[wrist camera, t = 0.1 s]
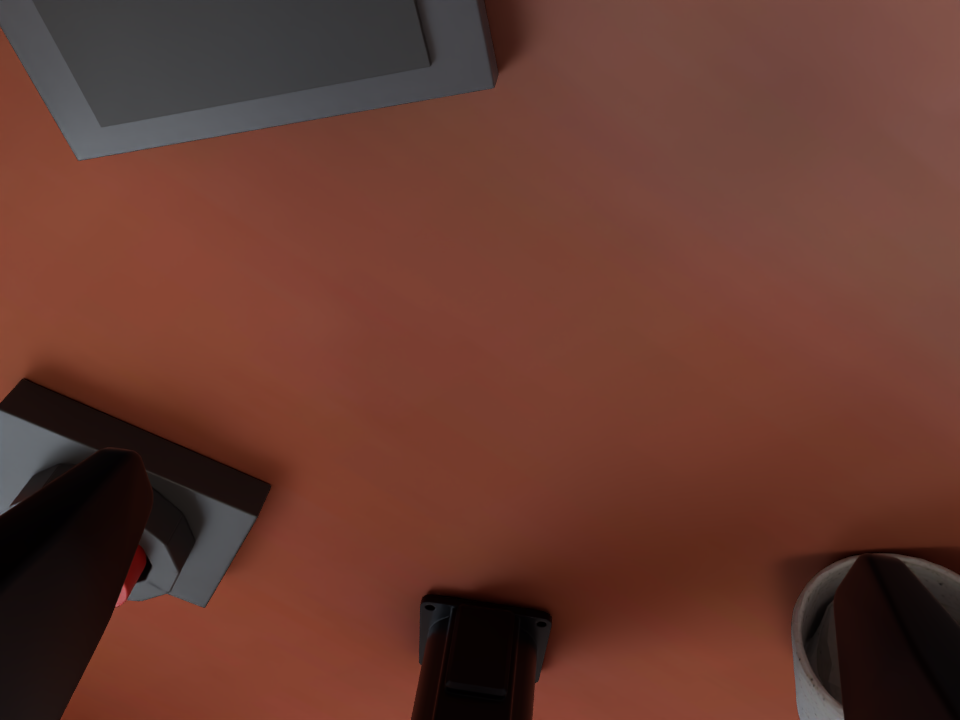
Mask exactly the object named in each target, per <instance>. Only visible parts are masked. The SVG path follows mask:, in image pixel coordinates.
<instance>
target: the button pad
mask: <svg viewBox="0 0 960 720" xmlns="http://www.w3.org/2000/svg"><path fill="white" fill-rule="evenodd" d="M107 447H112V448H120V449H127V450H133V451H136V452H137V453H138V454H139V455H140V456H141V458H142V461H143V464H144V467H145V470H146V472H147V475H148V478H149V481H150V484H151V487H152V490H153V505H152V509H151V512H150V515H149V518H148V520H147V523H146V526H145V528H144V531H143V534H142V537H141V539H140V542H139V545H140V546H141V547H142V548H143V549H144V551H145V554H146V566H145V568H144V570H143V571H142V573H141V575H140V577H139V579H138V580H137V582H136V584H135V586H134V588H133V589H132V591H131V593H130V595H129V597H128V598H127V600H132V601H144V600H147V599H150V598H154V597H157V596H160V595H164V594H169V595H172V596H174V597H177V598H180V599H182V600H185V601H188V602H190V603H193V604H195V605H198V606H201V607H203V608H205V607H206V606H207V604H208V602H209V600H210V599H211V597H212V595H213V594H214V592H215V590H216V588H217V587H218V585H219V583H220V581H221V580H222V578H223V576H224V575H225V573H226V571H227V569H228V568H229V566H230V564H231V562H232V561H233V559H234V557H235V556H236V554H237V552H238V550H239V549H240V547H241V545H242V543H243V542H244V540H245V538H246V537H247V535H248V533H249V531H250V530H251V528H252V526H253V524H254V523H255V521H256V519H257V518H258V516H259V513H260V511H261V509H262V507H263V504H264V502H265V500H266V498H267V495H268V493H269V491H270V488H271V485H269V484H266V483H264V482H262V481H260V480H257V479H255V478H253V477H250V476H248V475H246V474H243V473H241V472H239V471H236V470H234V469H232V468H229V467H227V466H225V465H222V464H220V463H218V462H215V461H213V460H211V459H208V458H206V457H204V456H201V455H199V454H197V453H194V452H192V451H190V450H187V449H185V448H183V447H180V446H178V445H176V444H173V443H171V442H169V441H166V440H164V439H162V438H159V437H157V436H155V435H152V434H150V433H148V432H145V431H143V430H141V429H138V428H136V427H134V426H131V425H129V424H127V423H124V422H122V421H120V420H117V419H115V418H113V417H110V416H108V415H106V414H104V413H101V412H99V411H97V410H94V409H92V408H90V407H87V406H85V405H83V404H80V403H78V402H76V401H73V400H71V399H69V398H66V397H64V396H62V395H59V394H57V393H55V392H52V391H50V390H48V389H45V388H43V387H41V386H38V385H36V384H34V383H31V382H29V381H27V380H24V379H22V380H21V381H20V382H19V383H18V384H17V385H16V386H15V388H14V389H13V390H12V391H11V392H10V393H9V394H8V395H7V396H6V397H5V399H4V400H3V401H2V402H1V403H0V515H2V514H3V513H5V512H6V511H8V510H9V509H11V508H12V507H14V506H15V505H17V504H18V503H20V502H21V501H23V500H24V499H26V498H27V497H29V496H31V495H32V494H34V493H35V492H37V491H38V490H40V489H41V488H43V487H44V486H46V485H47V484H49V483H50V482H52V481H53V480H55V479H56V478H58V477H59V476H61V475H62V474H64V473H65V472H67V471H68V470H70V469H71V468H73V467H74V466H76V465H77V464H79V463H80V462H82V461H83V460H85V459H86V458H88V457H89V456H91V455H92V454H94V453H95V452H97V451H99V450H101V449H103V448H107Z"/></svg>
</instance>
